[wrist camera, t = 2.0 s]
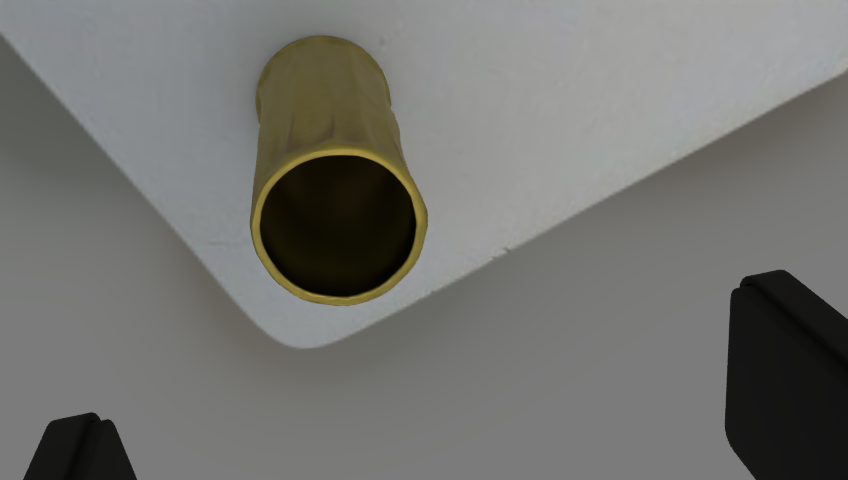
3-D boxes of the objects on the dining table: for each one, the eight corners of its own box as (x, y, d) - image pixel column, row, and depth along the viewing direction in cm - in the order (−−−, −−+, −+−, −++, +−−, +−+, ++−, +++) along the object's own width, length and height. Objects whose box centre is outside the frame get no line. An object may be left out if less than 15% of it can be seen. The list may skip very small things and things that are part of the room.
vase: (326, 190, 37) (344, 353, 24) (227, 104, 34) (188, 235, 22) (416, 101, 36) (484, 224, 23) (320, 5, 33) (336, 83, 21)
